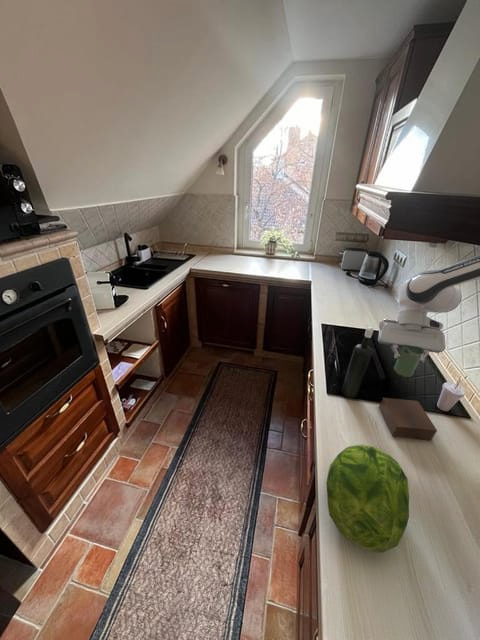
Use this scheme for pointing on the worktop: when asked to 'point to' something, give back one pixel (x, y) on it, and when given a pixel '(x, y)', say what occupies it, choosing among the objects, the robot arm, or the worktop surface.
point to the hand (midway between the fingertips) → (409, 360)
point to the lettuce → (368, 497)
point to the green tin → (408, 360)
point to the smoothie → (450, 395)
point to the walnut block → (406, 419)
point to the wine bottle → (357, 366)
